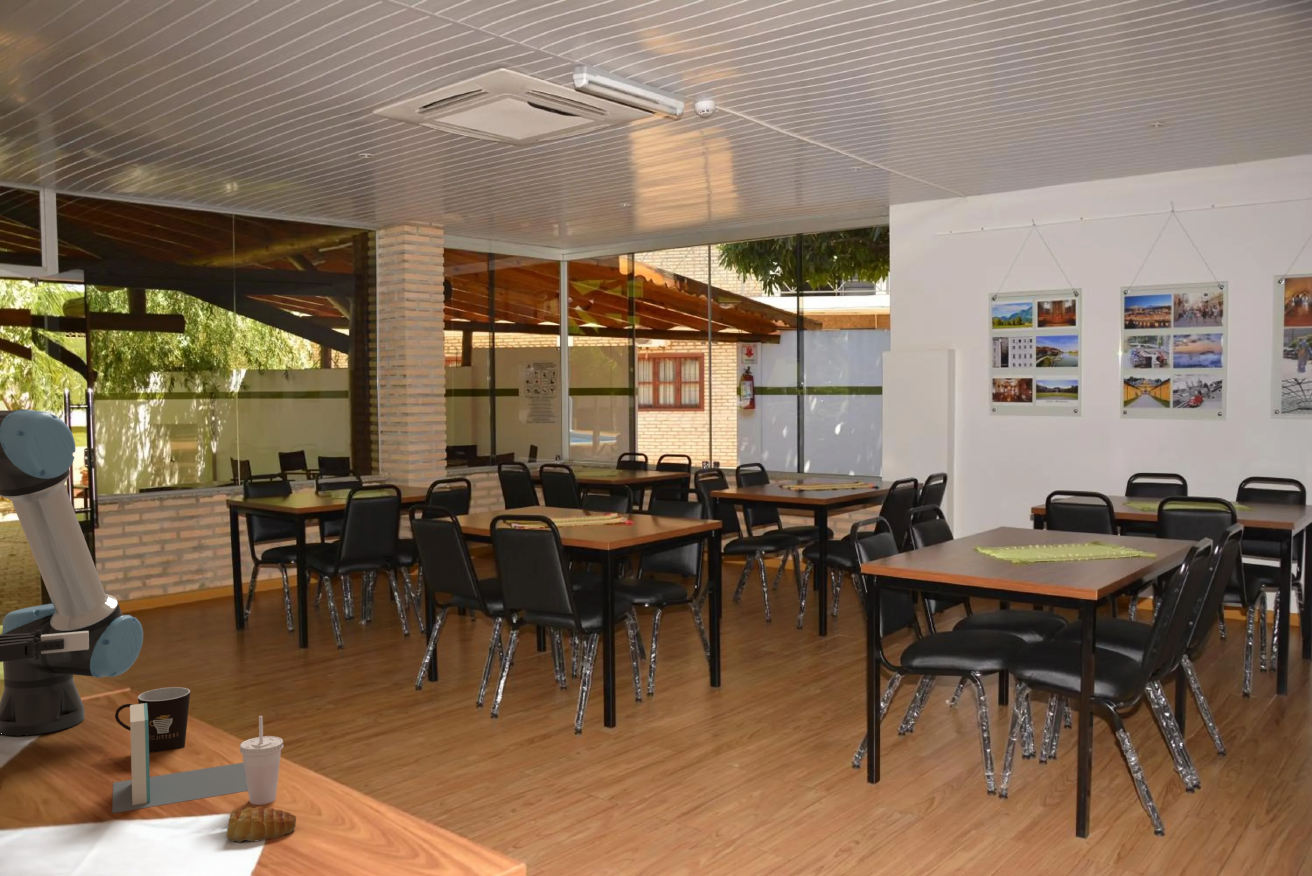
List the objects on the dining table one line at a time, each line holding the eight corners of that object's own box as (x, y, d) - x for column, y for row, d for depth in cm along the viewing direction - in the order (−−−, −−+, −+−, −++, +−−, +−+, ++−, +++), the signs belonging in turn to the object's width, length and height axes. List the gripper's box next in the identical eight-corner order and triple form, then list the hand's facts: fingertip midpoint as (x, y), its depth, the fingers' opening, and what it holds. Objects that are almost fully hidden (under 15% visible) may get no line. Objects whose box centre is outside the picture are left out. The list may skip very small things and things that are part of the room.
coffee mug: (200, 741, 192) (199, 687, 192) (174, 757, 184) (173, 701, 183) (141, 739, 194) (140, 686, 193) (112, 755, 185) (111, 700, 185)
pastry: (298, 821, 157) (297, 796, 156) (293, 840, 150) (293, 814, 150) (231, 827, 154) (231, 802, 154) (224, 847, 148) (223, 821, 148)
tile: (132, 783, 170) (129, 705, 169) (149, 781, 171) (147, 703, 170) (132, 805, 161) (130, 722, 160) (150, 802, 162) (148, 720, 161)
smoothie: (238, 813, 159) (236, 723, 158) (243, 797, 165) (241, 711, 165) (282, 809, 161) (281, 719, 160) (286, 793, 167) (284, 707, 166)
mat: (113, 786, 170) (113, 782, 170) (243, 765, 179) (243, 762, 179) (112, 817, 158) (112, 813, 158) (252, 793, 167) (252, 789, 167)
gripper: (-84, 671, 160) (90, 654, 171) (-100, 692, 149) (87, 672, 159) (-85, 623, 160) (89, 609, 171) (-102, 640, 149) (86, 624, 159)
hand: (88, 640), depth 165 cm, fingers closed
